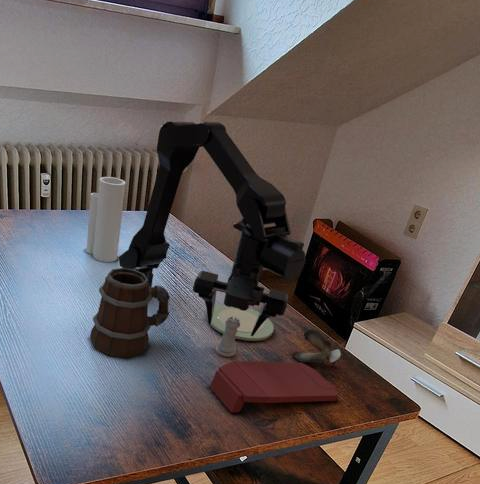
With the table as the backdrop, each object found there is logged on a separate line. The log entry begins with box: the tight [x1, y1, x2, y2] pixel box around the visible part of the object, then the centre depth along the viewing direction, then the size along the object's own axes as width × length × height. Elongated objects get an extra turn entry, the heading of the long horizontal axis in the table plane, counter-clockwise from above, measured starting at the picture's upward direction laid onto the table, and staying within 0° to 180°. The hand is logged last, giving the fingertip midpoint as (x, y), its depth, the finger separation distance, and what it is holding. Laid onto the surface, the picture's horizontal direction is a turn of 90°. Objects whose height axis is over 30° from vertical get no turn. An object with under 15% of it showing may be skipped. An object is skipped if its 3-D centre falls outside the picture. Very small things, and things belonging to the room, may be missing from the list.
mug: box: [89, 267, 171, 359], centre depth 108 cm, size 16×12×15 cm
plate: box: [206, 304, 275, 342], centre depth 127 cm, size 16×16×1 cm
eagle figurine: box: [294, 328, 345, 368], centre depth 117 cm, size 8×7×9 cm
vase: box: [85, 176, 126, 263], centre depth 142 cm, size 11×7×20 cm, turn 30°
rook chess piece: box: [215, 317, 240, 358], centre depth 113 cm, size 4×4×8 cm
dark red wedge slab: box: [209, 360, 339, 413], centre depth 106 cm, size 12×5×25 cm
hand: (230, 329), depth 113 cm, fingers open, 9 cm apart
